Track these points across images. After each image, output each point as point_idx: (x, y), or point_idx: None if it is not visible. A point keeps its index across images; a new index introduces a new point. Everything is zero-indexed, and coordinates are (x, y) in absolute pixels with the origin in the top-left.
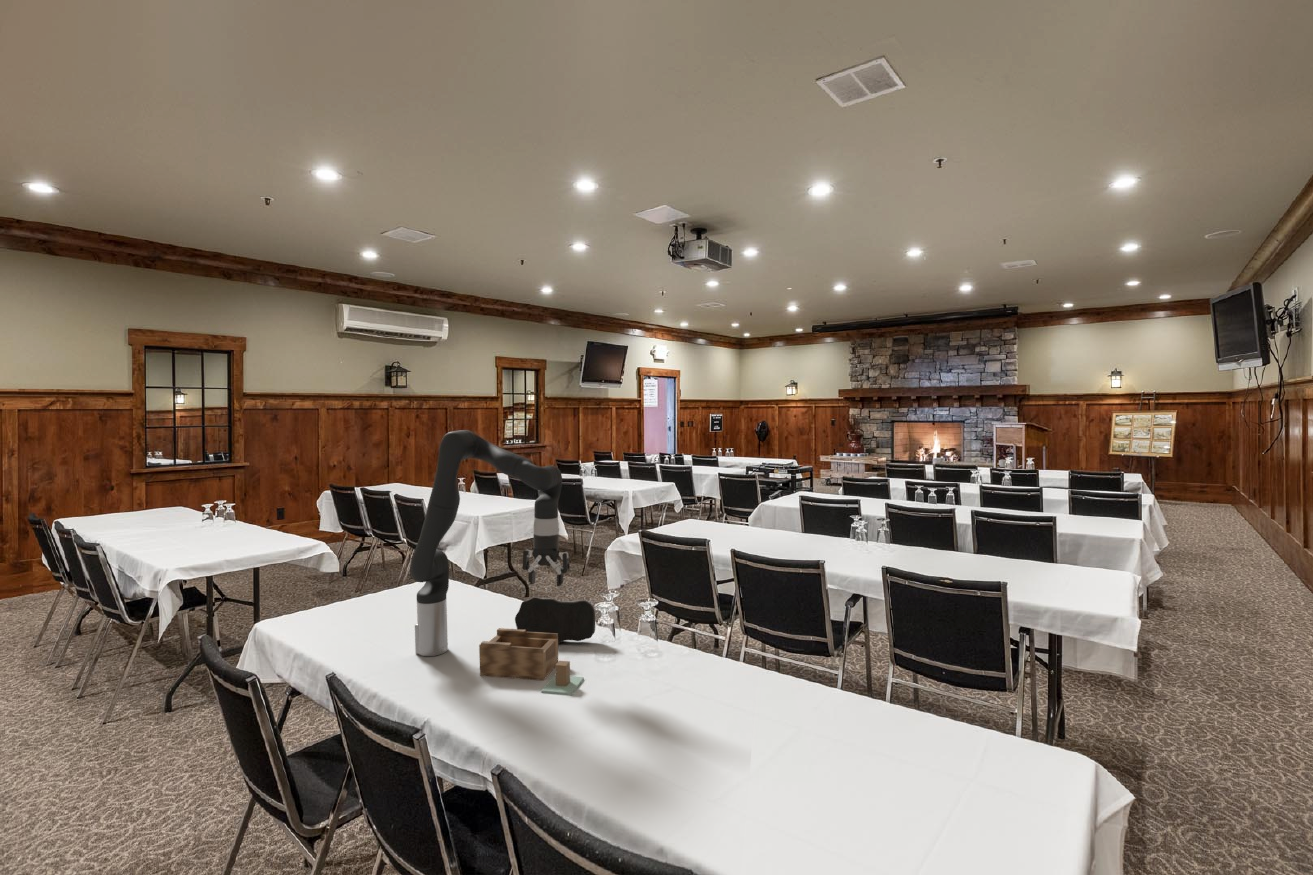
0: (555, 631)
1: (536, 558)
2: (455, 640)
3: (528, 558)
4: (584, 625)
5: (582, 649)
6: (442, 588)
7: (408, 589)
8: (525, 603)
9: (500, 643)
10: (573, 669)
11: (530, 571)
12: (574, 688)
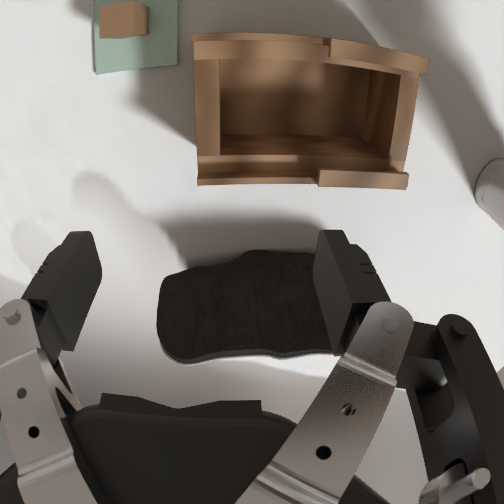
0: (258, 278)
1: (331, 502)
2: (465, 238)
3: (442, 454)
4: (180, 299)
5: (177, 240)
6: None
7: (498, 367)
8: None
9: (366, 50)
10: (146, 121)
11: (378, 310)
12: (96, 9)
